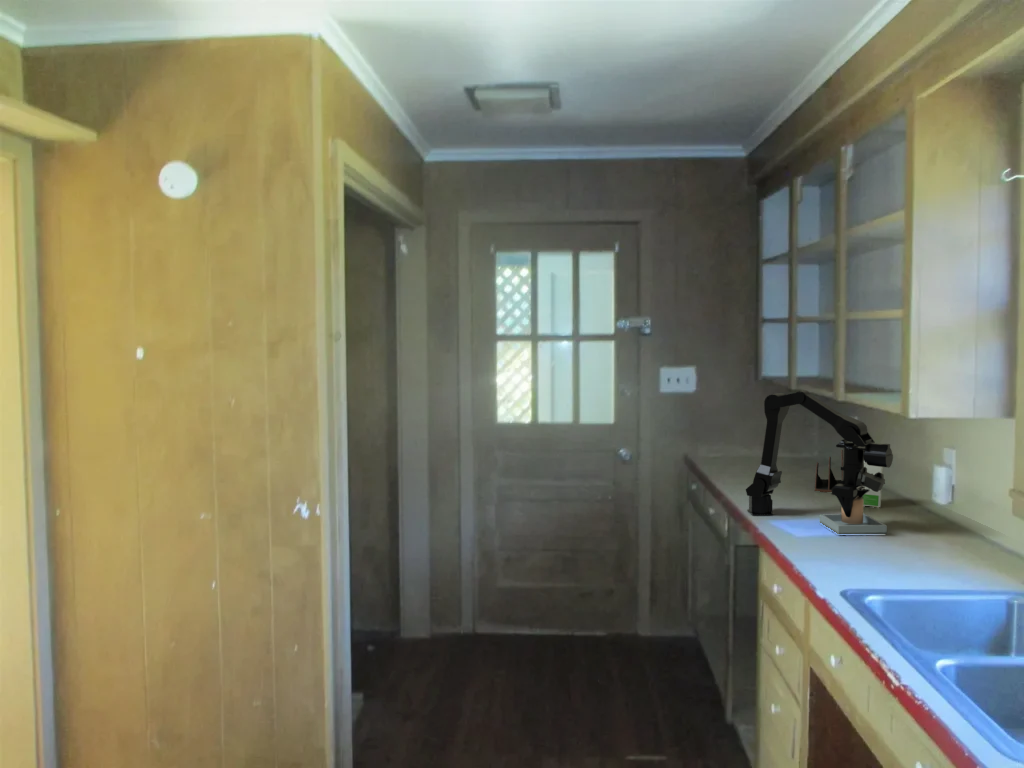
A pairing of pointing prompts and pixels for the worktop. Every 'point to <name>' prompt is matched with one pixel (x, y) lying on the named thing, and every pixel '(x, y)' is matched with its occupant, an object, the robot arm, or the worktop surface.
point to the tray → (853, 525)
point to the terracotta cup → (854, 512)
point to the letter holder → (827, 484)
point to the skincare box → (871, 496)
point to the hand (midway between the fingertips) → (852, 514)
